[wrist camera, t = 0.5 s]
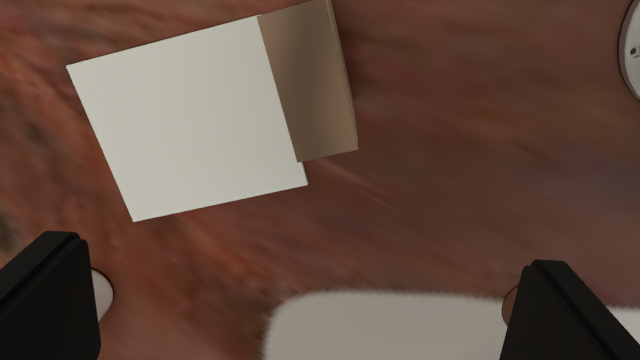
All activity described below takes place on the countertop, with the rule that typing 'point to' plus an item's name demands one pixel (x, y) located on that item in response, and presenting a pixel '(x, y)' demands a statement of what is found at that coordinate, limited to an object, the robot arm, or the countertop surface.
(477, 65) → the countertop surface
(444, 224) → the countertop surface
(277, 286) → the countertop surface
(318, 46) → the slab
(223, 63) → the mat
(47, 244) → the robot arm
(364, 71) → the countertop surface
